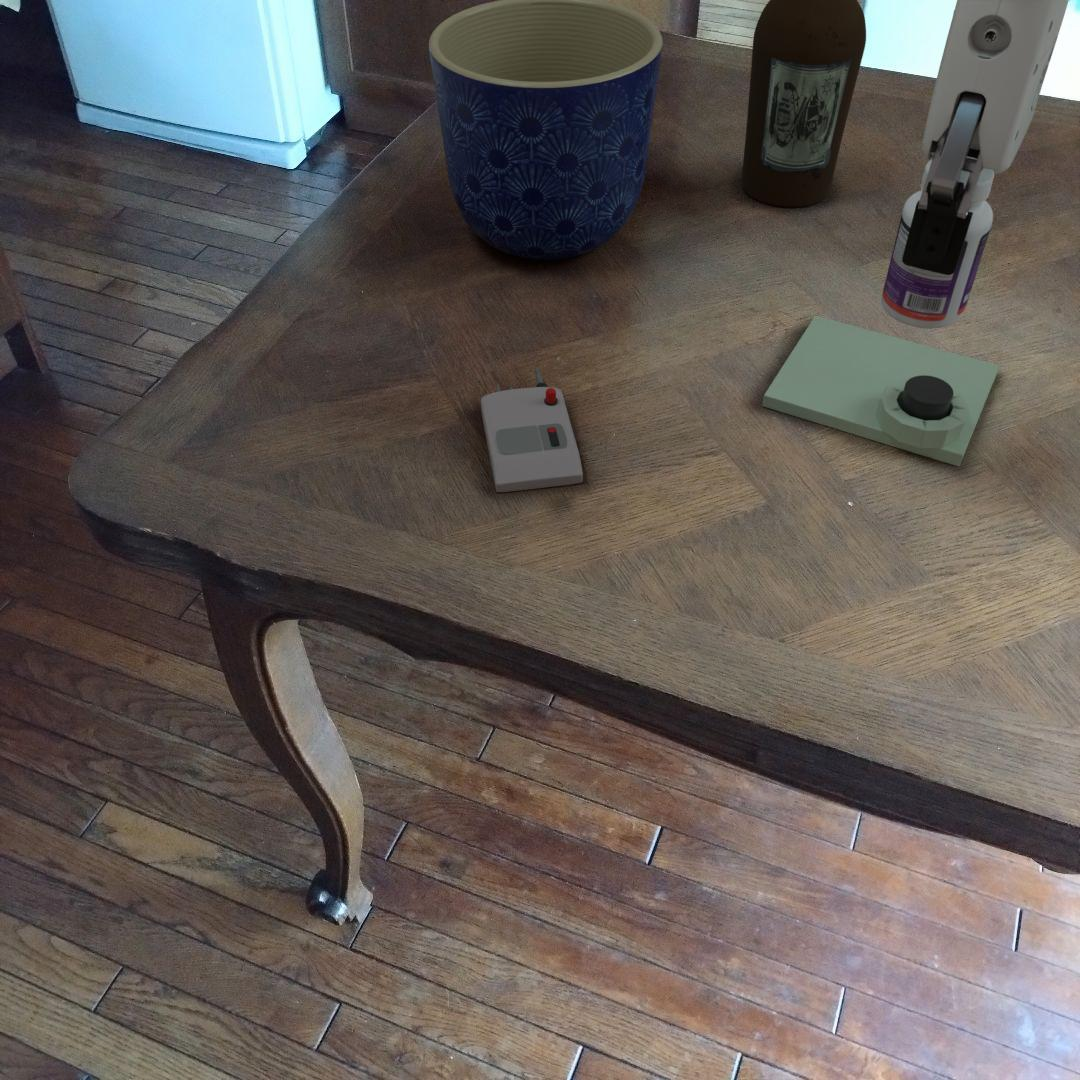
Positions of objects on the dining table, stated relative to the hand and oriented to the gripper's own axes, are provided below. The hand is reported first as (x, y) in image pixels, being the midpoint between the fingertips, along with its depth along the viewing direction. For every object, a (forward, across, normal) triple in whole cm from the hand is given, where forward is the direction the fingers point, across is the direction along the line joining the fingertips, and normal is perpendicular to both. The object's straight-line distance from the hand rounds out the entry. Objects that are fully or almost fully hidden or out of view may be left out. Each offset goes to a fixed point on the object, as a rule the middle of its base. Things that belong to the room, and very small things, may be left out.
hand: (940, 241), depth 67 cm
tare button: (+17, +6, -2) cm, 18 cm away
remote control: (+20, -8, +26) cm, 33 cm away
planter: (+20, +21, +39) cm, 49 cm away
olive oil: (+20, +40, +21) cm, 50 cm away
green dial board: (+20, +10, +2) cm, 22 cm away
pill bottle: (+5, 0, 0) cm, 5 cm away
